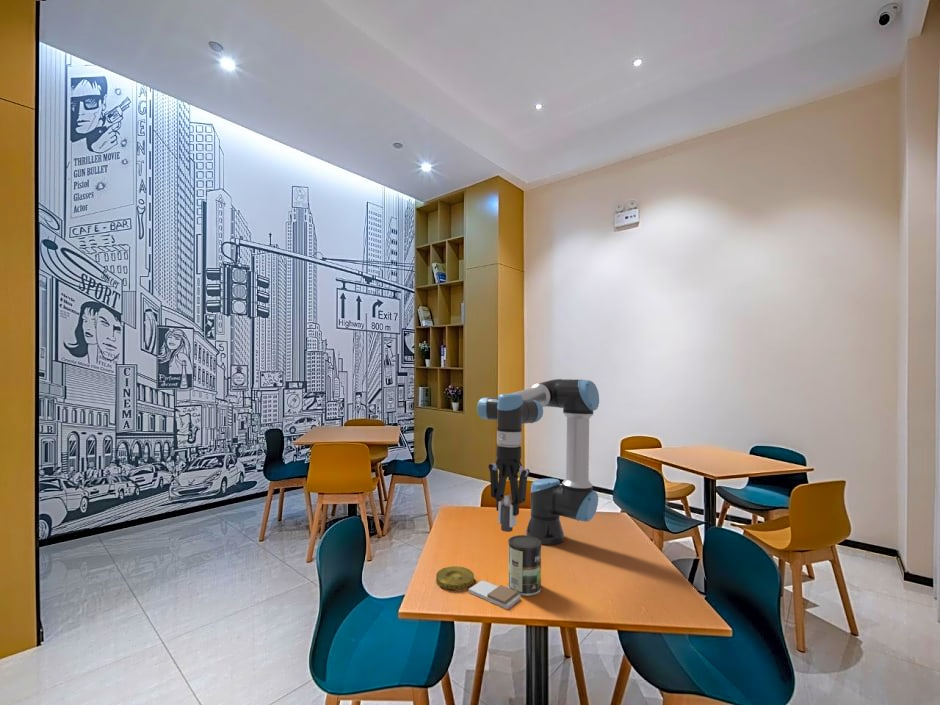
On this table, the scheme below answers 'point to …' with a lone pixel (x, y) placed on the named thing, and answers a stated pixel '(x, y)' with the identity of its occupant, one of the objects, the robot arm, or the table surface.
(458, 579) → the olive gold disc
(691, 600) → the table surface
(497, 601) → the white and brown box
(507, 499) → the grey white-capped bottle
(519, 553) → the coffee can
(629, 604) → the table surface
